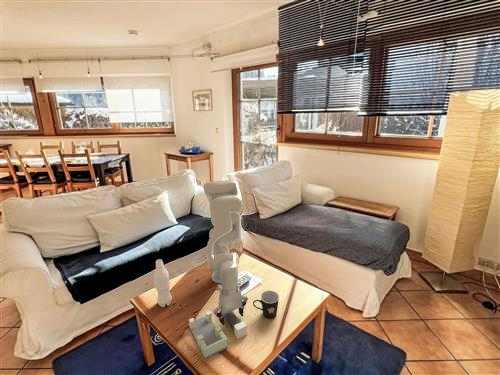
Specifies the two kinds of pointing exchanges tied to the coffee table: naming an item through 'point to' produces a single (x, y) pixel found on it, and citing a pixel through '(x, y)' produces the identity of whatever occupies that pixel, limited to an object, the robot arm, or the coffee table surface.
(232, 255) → the robot arm
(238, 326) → the grey rounded bar
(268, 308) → the coffee mug
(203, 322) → the board
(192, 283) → the coffee table surface
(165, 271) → the water bottle
